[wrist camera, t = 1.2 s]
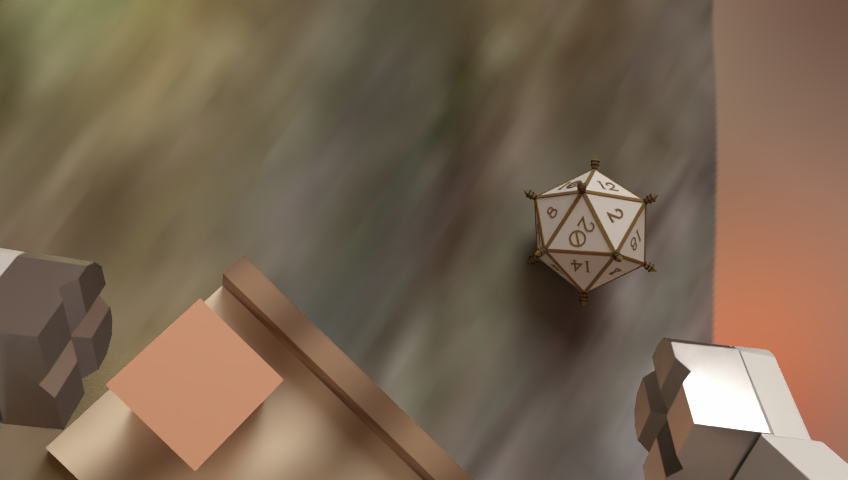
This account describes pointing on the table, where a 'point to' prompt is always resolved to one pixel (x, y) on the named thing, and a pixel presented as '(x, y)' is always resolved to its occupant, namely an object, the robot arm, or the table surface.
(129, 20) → the table surface
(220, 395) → the terracotta block
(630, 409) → the table surface
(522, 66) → the table surface
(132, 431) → the board
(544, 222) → the game die
